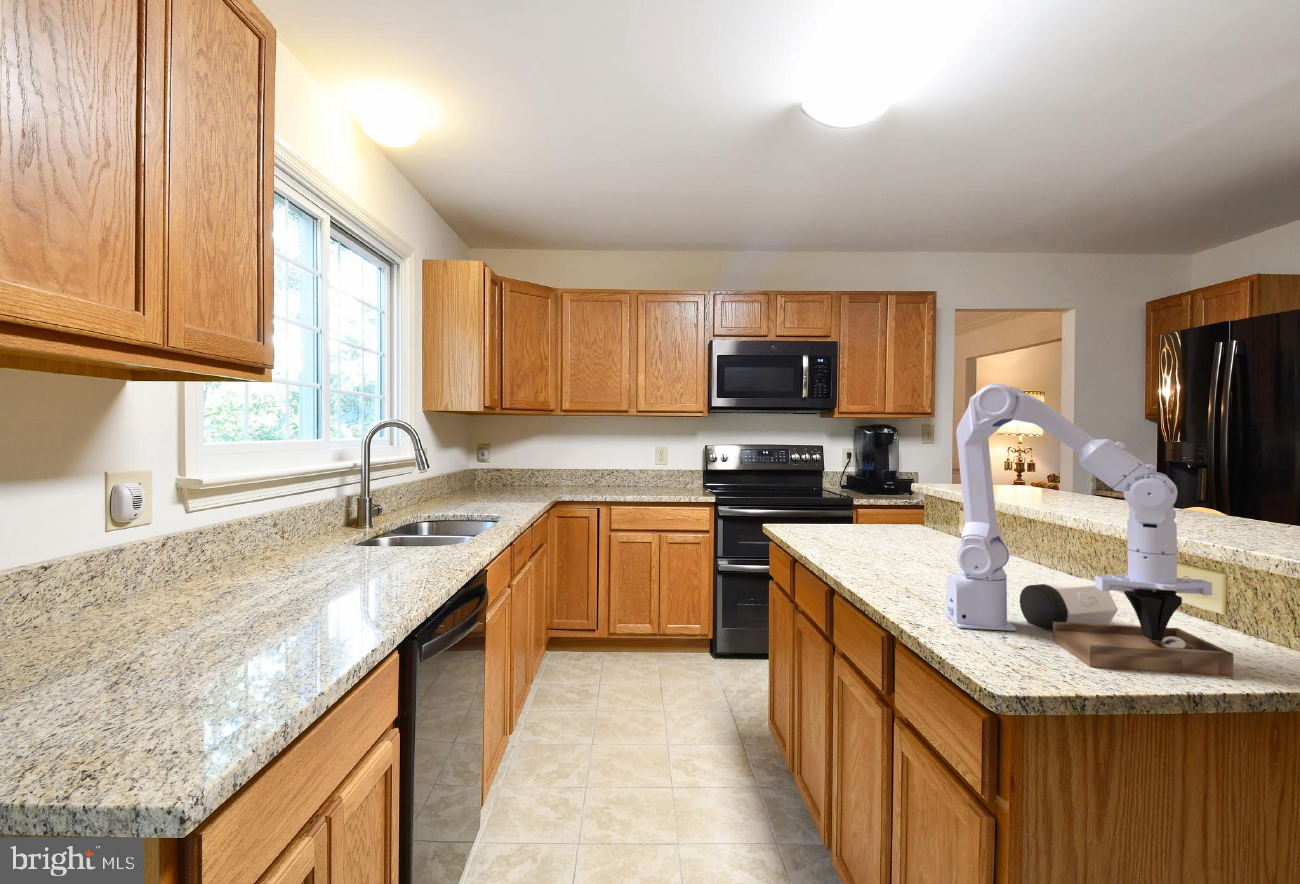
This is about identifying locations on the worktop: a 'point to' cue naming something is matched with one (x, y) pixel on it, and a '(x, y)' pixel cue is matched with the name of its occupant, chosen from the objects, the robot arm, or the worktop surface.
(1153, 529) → the robot arm
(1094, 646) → the board
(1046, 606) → the jar
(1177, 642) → the ball
